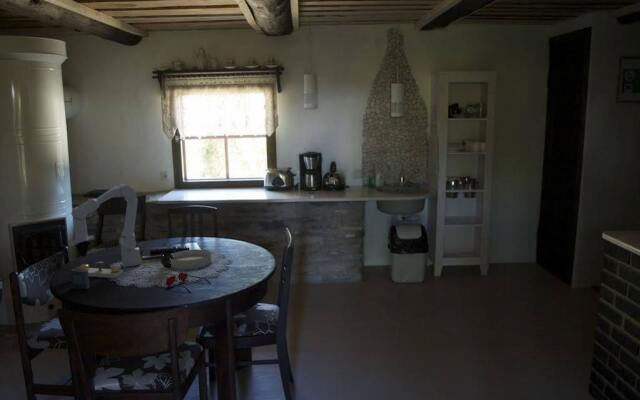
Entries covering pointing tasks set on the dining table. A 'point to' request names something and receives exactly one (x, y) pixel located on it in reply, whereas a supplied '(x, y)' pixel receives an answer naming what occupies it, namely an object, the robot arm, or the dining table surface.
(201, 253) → the dish
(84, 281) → the flask
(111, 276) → the mount board
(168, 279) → the glasses
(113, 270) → the brass knob
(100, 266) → the graphite knob
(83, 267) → the brass knob
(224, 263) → the dining table surface
